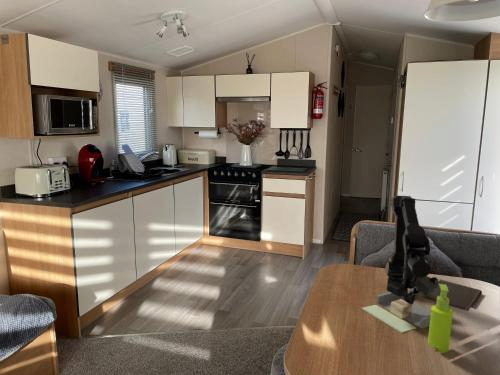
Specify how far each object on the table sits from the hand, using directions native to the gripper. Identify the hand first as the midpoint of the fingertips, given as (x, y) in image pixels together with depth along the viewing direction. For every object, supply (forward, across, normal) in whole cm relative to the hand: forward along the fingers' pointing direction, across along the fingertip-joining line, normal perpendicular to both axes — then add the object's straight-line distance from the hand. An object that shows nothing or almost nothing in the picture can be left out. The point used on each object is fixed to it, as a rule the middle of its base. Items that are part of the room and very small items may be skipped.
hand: (409, 307), depth 136 cm
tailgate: (+3, -7, 0) cm, 7 cm away
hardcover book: (+4, +28, +2) cm, 28 cm away
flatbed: (+3, +1, 0) cm, 3 cm away
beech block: (+2, -4, 0) cm, 4 cm away
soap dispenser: (+3, -8, -18) cm, 20 cm away
